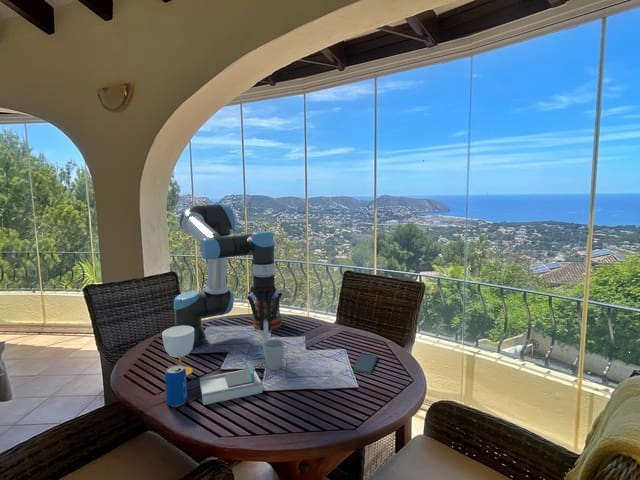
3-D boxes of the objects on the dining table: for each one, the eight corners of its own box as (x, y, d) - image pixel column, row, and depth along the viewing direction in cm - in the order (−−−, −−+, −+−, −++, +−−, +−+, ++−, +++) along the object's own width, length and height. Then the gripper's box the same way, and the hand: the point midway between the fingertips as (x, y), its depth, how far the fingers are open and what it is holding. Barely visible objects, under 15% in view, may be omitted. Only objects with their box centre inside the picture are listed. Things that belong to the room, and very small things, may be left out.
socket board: (200, 387, 137) (199, 377, 136) (254, 377, 144) (254, 367, 144) (203, 405, 126) (202, 394, 125) (262, 392, 133) (262, 382, 133)
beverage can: (180, 409, 124) (178, 374, 122) (162, 406, 125) (160, 372, 123) (191, 398, 130) (189, 365, 128) (174, 396, 131) (172, 363, 130)
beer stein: (240, 327, 197) (239, 289, 195) (256, 318, 211) (255, 283, 208) (272, 332, 190) (271, 293, 187) (286, 322, 203) (285, 286, 201)
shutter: (224, 376, 138) (224, 366, 138) (248, 371, 142) (248, 362, 141) (228, 388, 130) (227, 377, 130) (254, 383, 133) (253, 373, 133)
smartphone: (351, 369, 149) (360, 352, 163) (352, 373, 149) (360, 356, 163) (371, 372, 146) (377, 355, 160) (371, 376, 146) (377, 358, 160)
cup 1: (157, 377, 145) (155, 334, 143) (179, 363, 156) (176, 324, 154) (182, 382, 141) (180, 338, 139) (202, 368, 152) (200, 327, 150)
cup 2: (287, 364, 155) (287, 341, 154) (279, 373, 147) (278, 348, 146) (269, 361, 157) (269, 338, 156) (260, 370, 150) (259, 346, 149)
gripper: (247, 278, 129) (249, 345, 132) (284, 275, 134) (285, 339, 137) (243, 274, 136) (245, 337, 139) (278, 271, 141) (279, 332, 144)
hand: (265, 338), depth 138 cm, fingers closed
